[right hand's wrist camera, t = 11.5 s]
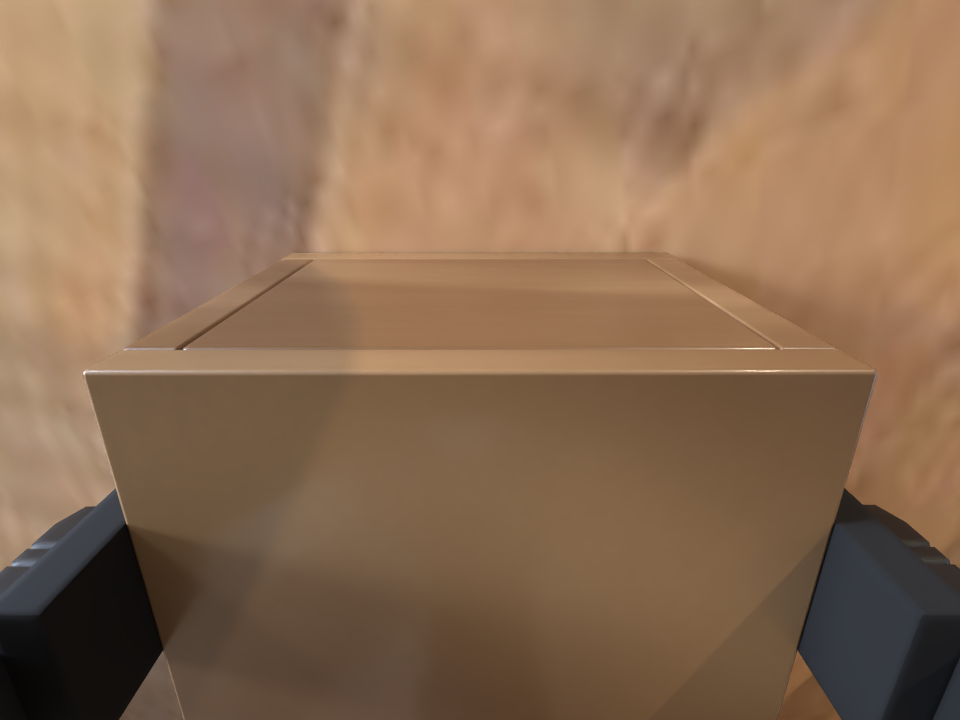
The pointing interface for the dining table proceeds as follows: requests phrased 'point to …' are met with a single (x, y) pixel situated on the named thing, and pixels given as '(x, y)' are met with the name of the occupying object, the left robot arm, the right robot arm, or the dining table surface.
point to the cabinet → (480, 488)
